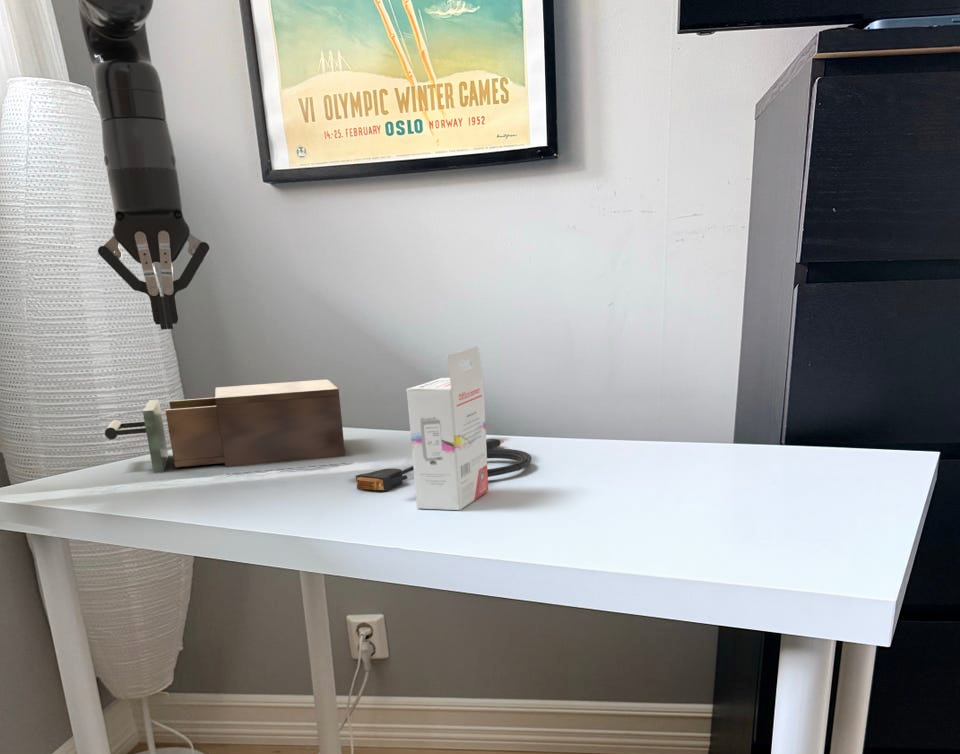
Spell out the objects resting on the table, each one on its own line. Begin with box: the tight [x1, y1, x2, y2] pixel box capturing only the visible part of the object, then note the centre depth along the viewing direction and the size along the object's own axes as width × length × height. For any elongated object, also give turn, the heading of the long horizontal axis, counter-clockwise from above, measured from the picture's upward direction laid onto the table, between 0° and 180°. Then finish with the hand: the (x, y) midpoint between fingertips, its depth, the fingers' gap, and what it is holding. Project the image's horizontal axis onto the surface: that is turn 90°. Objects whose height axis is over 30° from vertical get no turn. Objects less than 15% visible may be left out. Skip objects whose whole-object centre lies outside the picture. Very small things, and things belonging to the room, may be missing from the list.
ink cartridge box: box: [405, 345, 489, 511], centre depth 92 cm, size 9×5×15 cm, turn 160°
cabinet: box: [214, 379, 347, 475], centre depth 118 cm, size 15×13×9 cm
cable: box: [355, 438, 533, 493], centre depth 108 cm, size 14×28×2 cm, turn 146°
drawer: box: [104, 396, 225, 474], centre depth 116 cm, size 18×11×7 cm, turn 105°
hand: (167, 328), depth 111 cm, fingers closed
